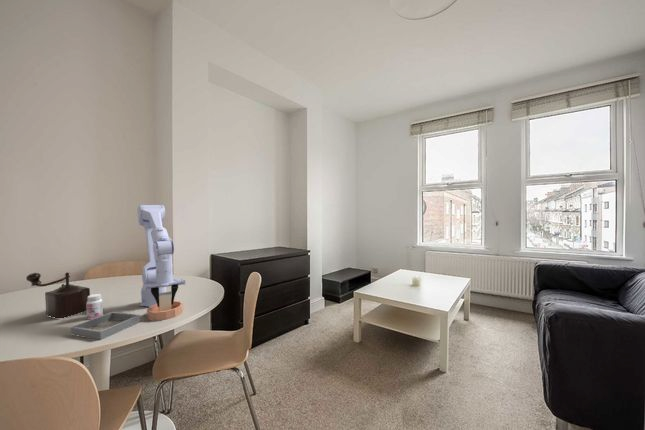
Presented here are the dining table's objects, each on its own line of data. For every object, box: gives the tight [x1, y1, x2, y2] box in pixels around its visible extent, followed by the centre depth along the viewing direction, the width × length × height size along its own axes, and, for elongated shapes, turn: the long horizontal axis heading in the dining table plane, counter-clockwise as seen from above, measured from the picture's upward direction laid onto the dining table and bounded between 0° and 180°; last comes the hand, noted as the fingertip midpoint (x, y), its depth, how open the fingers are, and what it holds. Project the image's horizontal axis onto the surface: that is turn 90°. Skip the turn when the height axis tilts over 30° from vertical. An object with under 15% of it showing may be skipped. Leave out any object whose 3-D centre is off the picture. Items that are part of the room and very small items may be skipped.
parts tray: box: [70, 311, 141, 340], centre depth 93 cm, size 14×14×2 cm
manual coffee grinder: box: [25, 272, 91, 319], centre depth 105 cm, size 16×11×18 cm
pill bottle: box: [86, 293, 104, 320], centre depth 103 cm, size 5×5×8 cm
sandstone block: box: [159, 290, 172, 311], centre depth 105 cm, size 4×4×6 cm
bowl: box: [146, 300, 184, 321], centre depth 105 cm, size 12×12×3 cm
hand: (165, 304), depth 105 cm, fingers closed on sandstone block, 4 cm apart
